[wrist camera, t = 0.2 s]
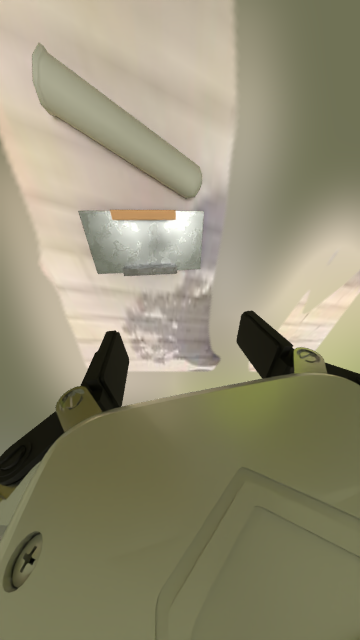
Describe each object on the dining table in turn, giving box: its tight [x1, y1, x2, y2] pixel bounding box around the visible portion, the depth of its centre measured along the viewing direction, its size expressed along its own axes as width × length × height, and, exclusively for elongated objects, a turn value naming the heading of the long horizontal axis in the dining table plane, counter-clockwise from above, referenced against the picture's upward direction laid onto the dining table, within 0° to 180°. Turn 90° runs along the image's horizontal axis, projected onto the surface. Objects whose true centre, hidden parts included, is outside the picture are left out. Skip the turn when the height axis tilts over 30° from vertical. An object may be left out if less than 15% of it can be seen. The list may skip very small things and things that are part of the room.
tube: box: [32, 43, 202, 198], centre depth 24 cm, size 5×5×25 cm
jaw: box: [110, 210, 176, 220], centre depth 29 cm, size 2×12×3 cm, turn 91°
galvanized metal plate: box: [78, 211, 204, 276], centre depth 32 cm, size 12×25×4 cm, turn 91°
